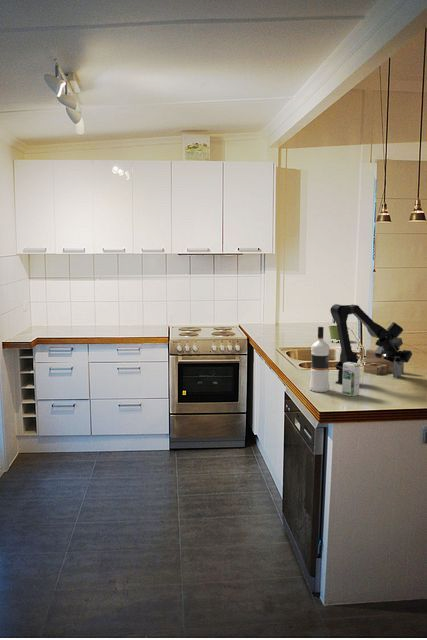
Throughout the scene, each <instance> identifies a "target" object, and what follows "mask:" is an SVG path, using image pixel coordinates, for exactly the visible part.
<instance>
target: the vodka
mask: <svg viewBox="0 0 427 640" xmlns="http://www.w3.org/2000/svg"><path fill="white" fill-rule="evenodd" d="M310 348H311V350H310V351H311V352H310V354H311V355H310V356H311V358H310V359H311V361H310V362H311V363H310V382H309V385H308V386H309V390H310V391H311V390H312V391H311V392H314V391H315V392H314V393H327V392H328V391H330V381H329V374H330V373H329V372H330V368H329V365H330V345H329V344H328V343H327V342H326V341H324V326H318V327H317V341H315V342H313V343H312V345H311V347H310Z"/></svg>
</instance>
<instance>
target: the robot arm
mask: <svg viewBox="0 0 427 640" xmlns="http://www.w3.org/2000/svg"><path fill="white" fill-rule="evenodd" d="M329 311H330V314H331V317H332V319H333V320H334V323H336V326H337V329H338V335H339V340H340V343H339V344H340V345H339V346H340V348H341V349H340V350H341V352H340V354H339V361H338V362H337V363H336V364H335V369H336V371H338V373H337V381H335V382H334V383H335V384H339V385H342V381H343V363H346V362H351V363H358V361H359V359H358V354H357V353H358V352H355V351H353V350H352V346H351V340H350V335H349V328H348V324H347V323H348V318H349V315H353V316H355V318H357V319H358V321H360V322H361V323H362V325H364V326H365V327H366V330H367V332H368V333H369V335H370V337H372V338H376V339H377V340H376V342H375V346H378V347H377V348H376V352H375V356H376V357H377V358H381V357H382V356H381V355H382V354H383V356H384V359H385V360H388V361H390V362H392V363H393V361H394V357H396V360H395V361H396V362H397V363H398V364H400V365H402V362H404V363H406V364H407V363H409V361H410V360H411V358H412V356H413V352H412V351H411V350H409V349H402V350H401V348H400V347H401V346H402V345H404V343H403V338H401V337H399V336H400V335H401V334H402V333H403V332H404V329H403V327H402V326H400V325H399V324H397V322H391V324H390V325H389V326H388V327H387V329H386V328H385V327H383V326H382V325H380V324H378V323H376V322H375V321H374V320H373V319H372V318H370V316H369V315H368V314H366V312H365V311H364V310H363V309H362V308H361V307H360V305H358V304H354V303H353V304H349V305H346V304H345V305H342V304H337V303H334V304H333V305H331V308H330V310H329Z"/></svg>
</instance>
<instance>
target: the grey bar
mask: <svg viewBox="0 0 427 640" xmlns="http://www.w3.org/2000/svg"><path fill="white" fill-rule="evenodd" d="M395 360H396V357H394V361H393V373H392V377H393V378H397V379H398V378H401V377H402V374H401V373H402V365H400V364H398V363H397V362H396V361H395Z"/></svg>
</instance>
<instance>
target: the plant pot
mask: <svg viewBox="0 0 427 640" xmlns="http://www.w3.org/2000/svg"><path fill="white" fill-rule="evenodd" d="M328 329H329V334H330V340H331V339H336V340H339V335H338V329H337V325H328Z"/></svg>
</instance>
